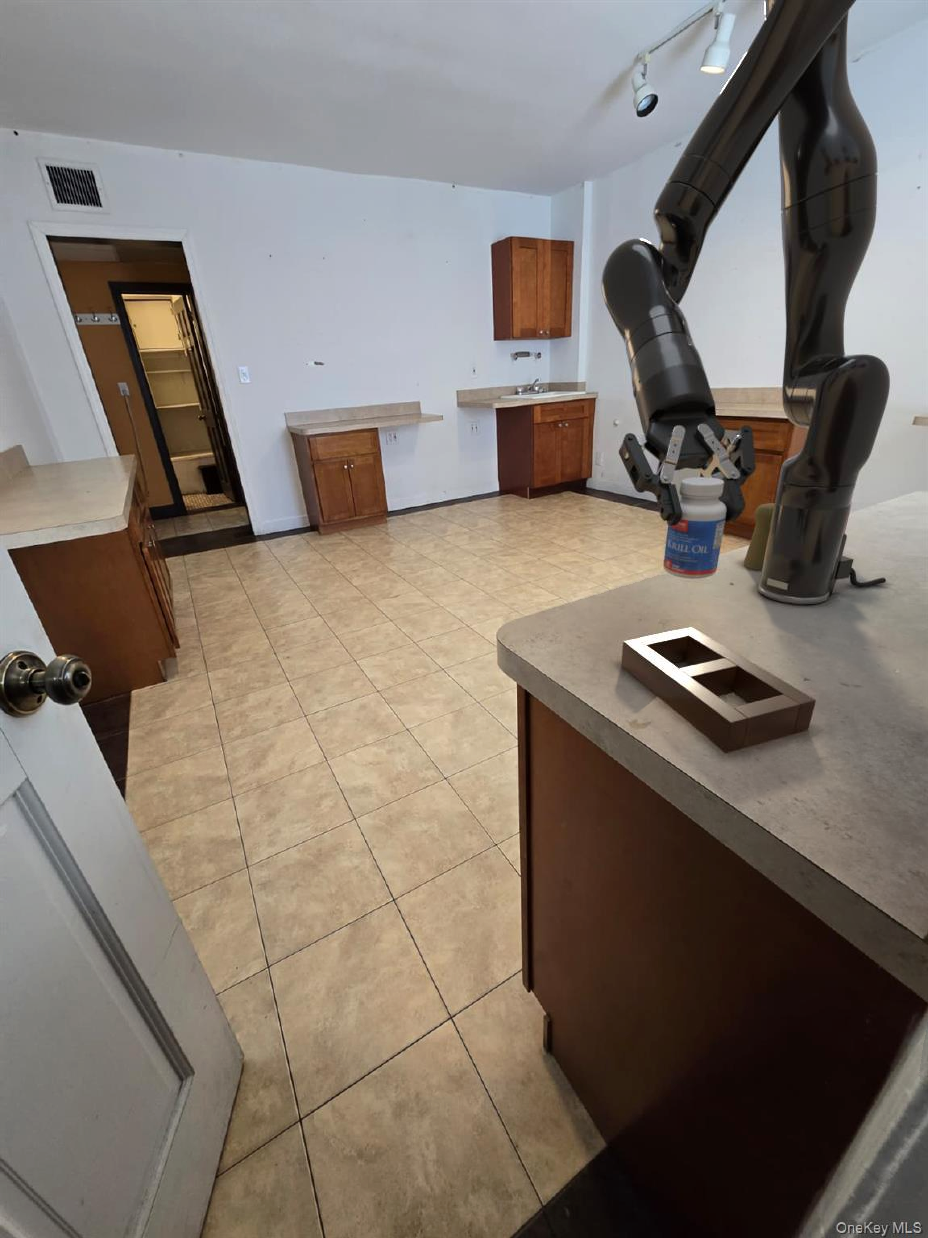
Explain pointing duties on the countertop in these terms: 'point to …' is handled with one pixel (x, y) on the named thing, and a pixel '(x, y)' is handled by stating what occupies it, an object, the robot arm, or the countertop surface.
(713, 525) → the pill bottle
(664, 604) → the countertop surface
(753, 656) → the countertop surface
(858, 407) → the robot arm
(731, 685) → the socket block
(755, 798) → the countertop surface
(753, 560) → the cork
